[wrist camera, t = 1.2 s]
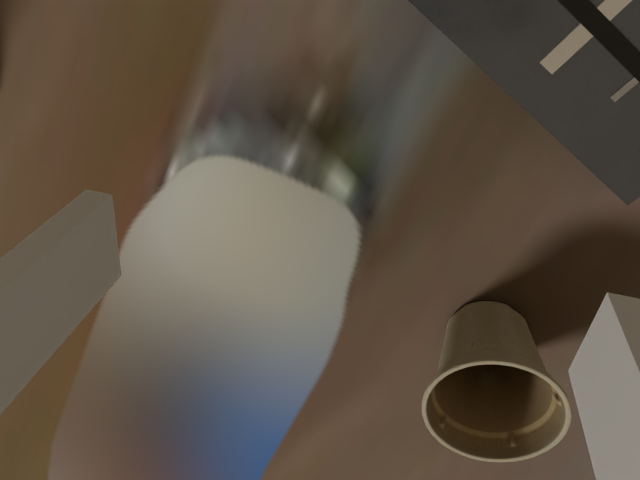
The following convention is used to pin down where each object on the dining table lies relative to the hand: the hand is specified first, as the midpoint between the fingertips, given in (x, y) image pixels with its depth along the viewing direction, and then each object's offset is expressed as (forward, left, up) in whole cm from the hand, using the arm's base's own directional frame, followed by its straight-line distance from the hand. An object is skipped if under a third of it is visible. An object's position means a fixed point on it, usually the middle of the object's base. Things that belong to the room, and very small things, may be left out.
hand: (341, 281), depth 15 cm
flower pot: (+19, -11, -24) cm, 32 cm away
